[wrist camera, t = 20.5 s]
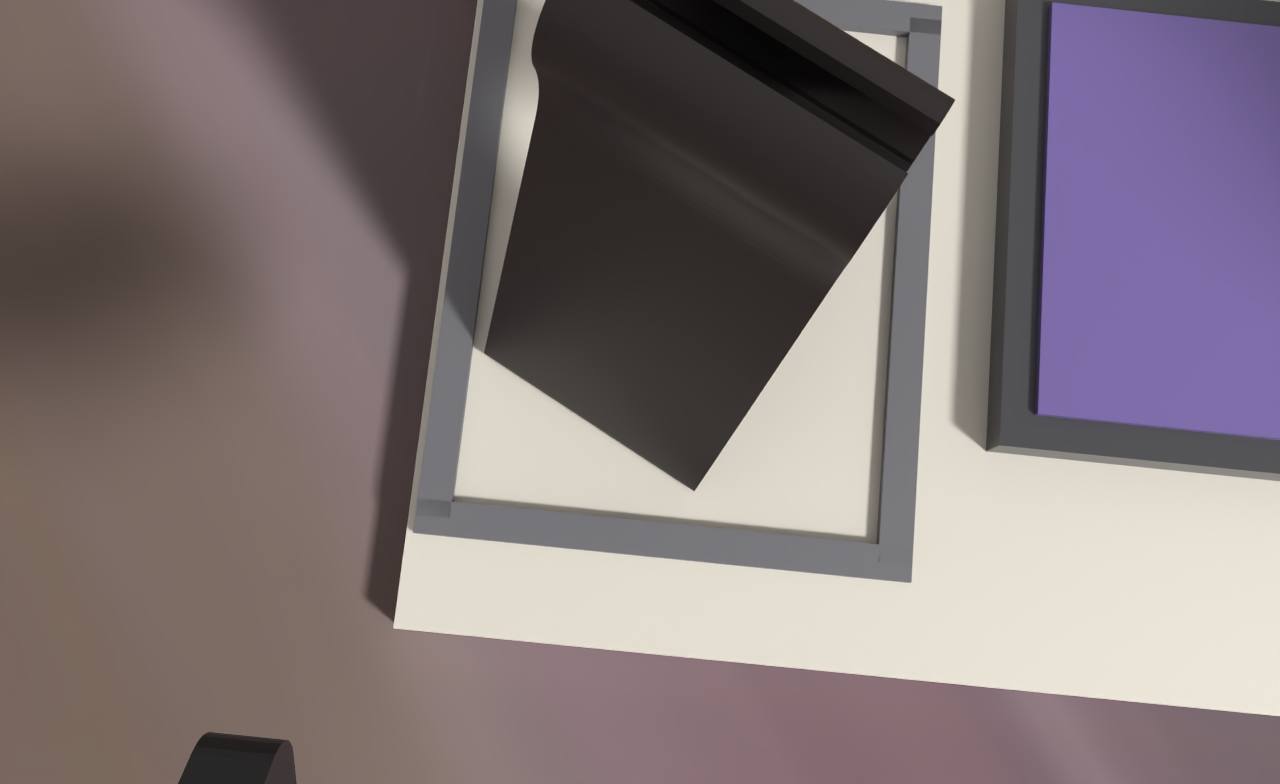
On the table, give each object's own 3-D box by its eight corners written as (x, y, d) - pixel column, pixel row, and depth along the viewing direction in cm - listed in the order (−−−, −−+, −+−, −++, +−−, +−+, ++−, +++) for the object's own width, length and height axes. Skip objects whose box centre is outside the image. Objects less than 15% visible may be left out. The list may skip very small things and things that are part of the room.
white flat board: (1379, 3, 32) (1403, -16, 31) (1395, 726, 29) (1423, 730, 28) (496, -92, 32) (492, -114, 31) (400, 627, 28) (393, 628, 28)
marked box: (938, 12, 31) (942, 6, 31) (908, 582, 28) (911, 582, 28) (490, -37, 31) (489, -43, 30) (414, 533, 28) (412, 532, 28)
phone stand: (688, 68, 30) (745, -283, 19) (889, 195, 30) (1078, -81, 18) (483, 355, 29) (403, 172, 17) (692, 494, 28) (758, 405, 17)
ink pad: (1385, 35, 31) (1416, 12, 30) (1396, 493, 29) (1430, 487, 28) (1005, -6, 31) (1021, -31, 30) (985, 451, 29) (1002, 444, 28)
